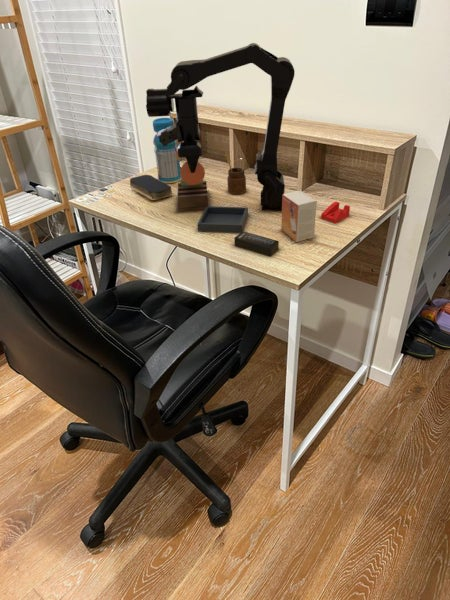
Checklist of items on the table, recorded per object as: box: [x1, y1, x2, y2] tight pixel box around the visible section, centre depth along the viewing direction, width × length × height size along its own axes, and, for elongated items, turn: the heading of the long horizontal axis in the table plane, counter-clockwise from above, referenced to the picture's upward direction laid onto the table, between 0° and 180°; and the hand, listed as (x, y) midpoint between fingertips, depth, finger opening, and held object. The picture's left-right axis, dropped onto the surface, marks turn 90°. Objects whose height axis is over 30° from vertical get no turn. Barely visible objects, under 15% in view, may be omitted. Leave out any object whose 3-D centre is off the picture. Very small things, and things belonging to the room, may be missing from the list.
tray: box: [197, 205, 249, 234], centre depth 128 cm, size 12×11×2 cm
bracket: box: [320, 201, 351, 224], centre depth 127 cm, size 6×5×3 cm
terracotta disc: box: [180, 160, 206, 185], centre depth 131 cm, size 7×1×7 cm, turn 93°
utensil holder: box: [224, 152, 247, 195], centre depth 143 cm, size 6×6×12 cm
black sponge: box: [129, 174, 173, 201], centre depth 148 cm, size 16×8×4 cm, turn 37°
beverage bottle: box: [152, 117, 181, 184], centre depth 153 cm, size 8×8×20 cm
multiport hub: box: [233, 230, 280, 257], centre depth 116 cm, size 4×11×2 cm, turn 54°
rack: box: [176, 180, 211, 214], centre depth 140 cm, size 10×12×5 cm
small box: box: [280, 190, 318, 243], centre depth 118 cm, size 8×6×10 cm
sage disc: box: [180, 177, 204, 186], centre depth 141 cm, size 7×1×7 cm, turn 94°
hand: (192, 171), depth 131 cm, fingers closed on terracotta disc, 1 cm apart
